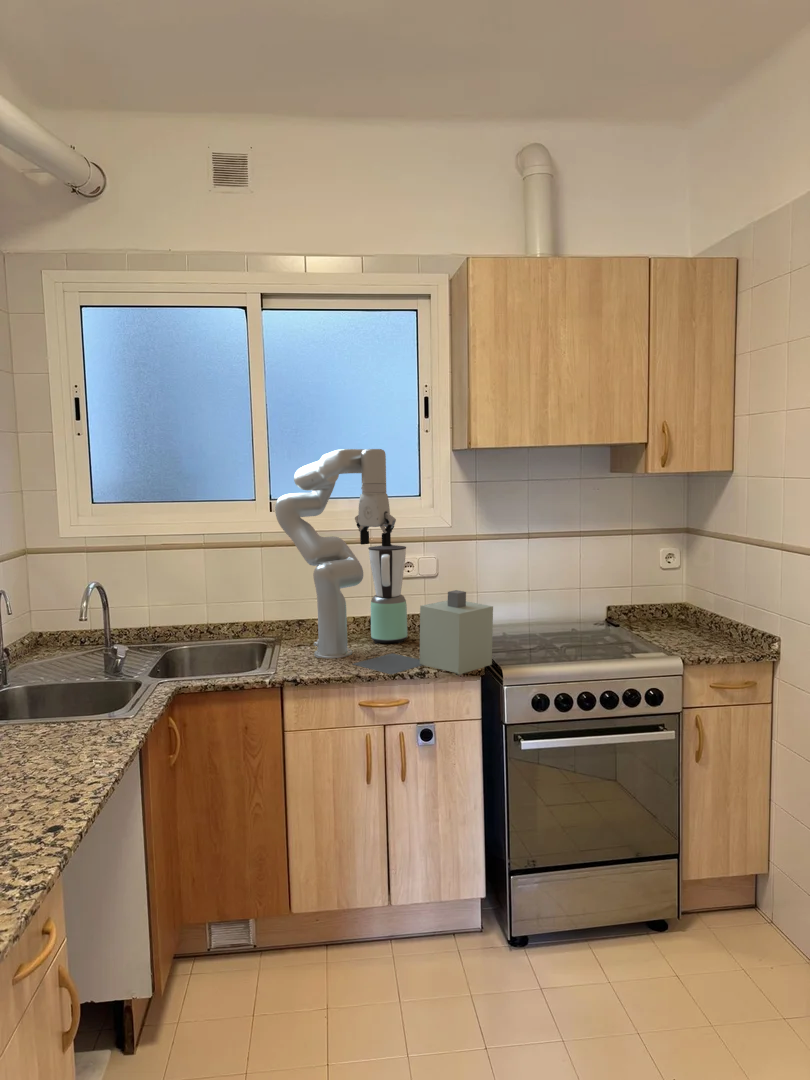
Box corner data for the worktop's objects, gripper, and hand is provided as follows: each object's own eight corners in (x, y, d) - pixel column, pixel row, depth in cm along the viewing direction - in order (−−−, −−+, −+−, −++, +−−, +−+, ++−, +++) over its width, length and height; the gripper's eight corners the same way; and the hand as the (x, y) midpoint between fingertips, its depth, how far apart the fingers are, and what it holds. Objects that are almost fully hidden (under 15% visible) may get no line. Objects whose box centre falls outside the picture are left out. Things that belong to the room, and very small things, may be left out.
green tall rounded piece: (372, 636, 272) (370, 542, 269) (408, 636, 272) (406, 542, 269) (368, 649, 253) (365, 548, 250) (407, 648, 253) (405, 547, 250)
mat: (351, 665, 232) (351, 664, 232) (392, 654, 245) (392, 653, 245) (391, 676, 219) (391, 674, 219) (432, 664, 232) (432, 662, 232)
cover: (419, 663, 230) (420, 591, 228) (453, 654, 242) (454, 585, 239) (458, 674, 219) (459, 598, 216) (491, 664, 230) (493, 592, 228)
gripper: (346, 489, 229) (347, 544, 230) (384, 490, 217) (386, 547, 218) (364, 489, 234) (365, 542, 236) (402, 489, 222) (403, 545, 224)
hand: (375, 545), depth 227 cm, fingers open, 9 cm apart
